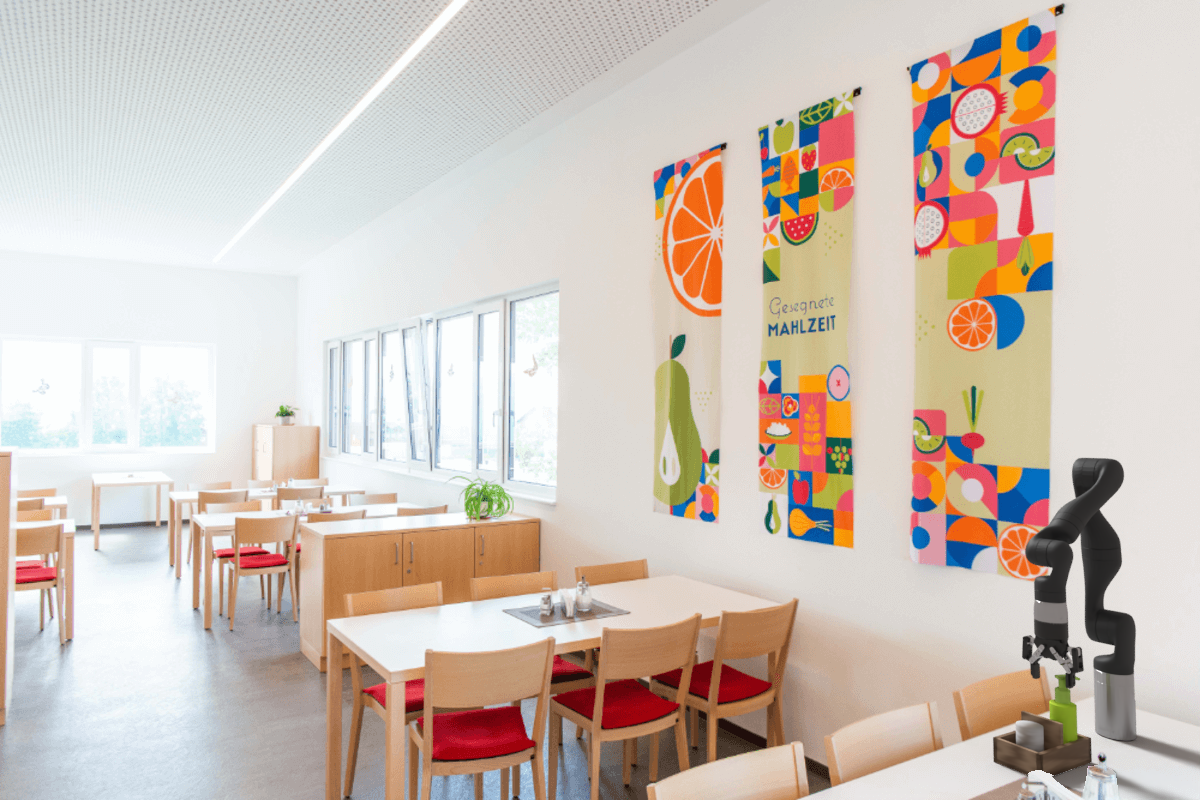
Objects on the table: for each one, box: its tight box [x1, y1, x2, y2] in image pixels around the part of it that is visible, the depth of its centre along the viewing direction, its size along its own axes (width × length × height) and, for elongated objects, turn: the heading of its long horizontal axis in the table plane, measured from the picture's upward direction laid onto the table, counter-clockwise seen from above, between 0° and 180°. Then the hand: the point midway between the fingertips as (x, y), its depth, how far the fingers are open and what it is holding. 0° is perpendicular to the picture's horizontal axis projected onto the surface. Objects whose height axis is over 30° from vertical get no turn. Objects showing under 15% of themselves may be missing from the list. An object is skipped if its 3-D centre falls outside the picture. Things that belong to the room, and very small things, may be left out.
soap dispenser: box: [1048, 673, 1081, 744], centre depth 192 cm, size 6×7×20 cm
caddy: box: [992, 710, 1093, 777], centre depth 191 cm, size 12×21×11 cm, turn 119°
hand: (1052, 683), depth 194 cm, fingers open, 8 cm apart
